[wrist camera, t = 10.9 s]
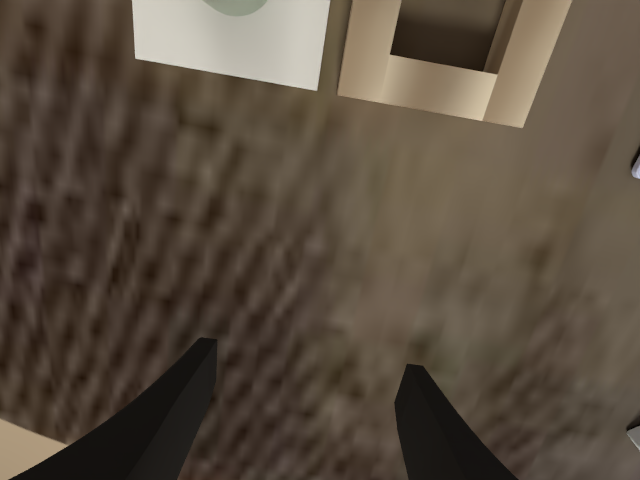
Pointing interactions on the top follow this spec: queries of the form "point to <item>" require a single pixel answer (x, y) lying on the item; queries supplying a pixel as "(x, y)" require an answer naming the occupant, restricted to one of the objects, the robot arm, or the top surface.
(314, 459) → the top surface
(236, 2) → the sage peg
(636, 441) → the skincare box
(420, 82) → the pocket holder
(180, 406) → the robot arm
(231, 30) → the pad
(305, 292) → the top surface
